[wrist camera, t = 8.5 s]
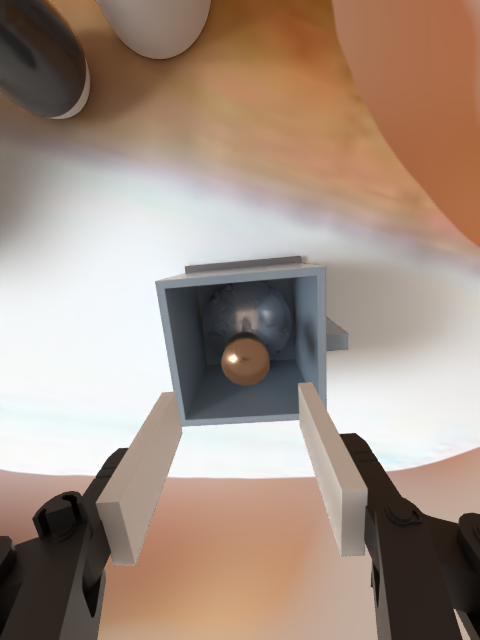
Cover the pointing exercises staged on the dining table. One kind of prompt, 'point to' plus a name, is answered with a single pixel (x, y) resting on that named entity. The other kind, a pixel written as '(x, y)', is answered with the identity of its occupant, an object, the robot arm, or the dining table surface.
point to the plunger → (246, 329)
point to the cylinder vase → (156, 24)
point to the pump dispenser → (41, 60)
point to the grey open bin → (285, 368)
